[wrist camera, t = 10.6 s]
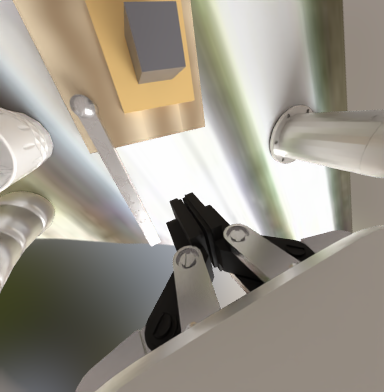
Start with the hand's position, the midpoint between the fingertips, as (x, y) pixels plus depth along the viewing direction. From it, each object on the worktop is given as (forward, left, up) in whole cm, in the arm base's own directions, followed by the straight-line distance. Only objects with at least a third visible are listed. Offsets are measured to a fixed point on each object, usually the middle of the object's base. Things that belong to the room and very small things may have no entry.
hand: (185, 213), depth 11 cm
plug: (-3, -12, -17) cm, 21 cm away
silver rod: (+5, +1, -14) cm, 14 cm away
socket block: (-1, -11, -19) cm, 22 cm away
